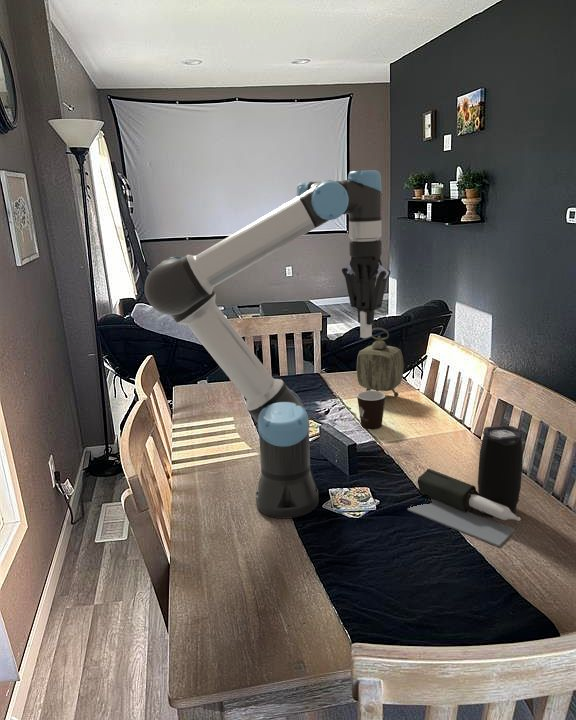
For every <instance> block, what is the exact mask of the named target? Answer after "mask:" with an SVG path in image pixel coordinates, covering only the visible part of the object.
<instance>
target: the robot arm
mask: <svg viewBox="0 0 576 720" xmlns="http://www.w3.org/2000/svg"><path fill="white" fill-rule="evenodd" d="M382 194H383V187H382V175H381V173H380V171H378V170H376V169H371V170H370V169H369V170H351V171H349V173H348V175H347V179H346V180H345V179H344V180H336V181H335V180H332V179H331V180H329V179H328V180H324V181H308V182H307V181H306V182H300V183H298V185H297V186H296V197H294V198H293V199H291V200H290V201H287V202H286V203H283V204H282V205H281V206H279V207H277V208H276V209H273V210H272V211H271V212H269V213H267V214H265V215H263V216H261V217H260V218H258V219H256V220H255V221H253V222H252V223H250V224H248V225H245V227H243V228H241V229H239V230H238V231H235V233H232V234H231V235H229V236H227V237H225V238H224V239H222V240H220V241H219V242H217V243H215V244H214V245H212V246H210V247H208V248H206V249H205V250H203V251H202V252H200V253H198V254H196V255H193V254H186V255H185V256H171V257H168V258H165V259H164V260H162V261H160V262H159V263H158V264H157V265H156V266H155V267H154V268H153V269H152V270H151V271H150V272H149V273H148V275H147V276H146V279H145V283H144V294H145V298H146V300H147V301H148V303H149V305H150V306H151V308H153V309H154V310H156V311H157V312H158V313H161V314H163V315H167V316H171V317H172V319H173V320H174V321H175V322H176V323H177V325H186V327H188V328H189V329H190V331H191V332H192V333H193V335H194V336H195V337H196V338H197V339H198V341H199V342H200V344H202V346H203V347H204V348H205V350H206V351H207V352H208V354H210V356H211V357H212V359H213V360H214V361H215V362H216V363H217V365H218V366H219V367H220V368H221V370H222V371H223V372H224V373H225V375H226V376H227V377H228V378H229V379H230V381H231V382H232V383H233V385H234V386H235V387H236V388H237V389H238V391H239V392H240V393H241V395H242V396H243V397H244V398H245V400H246V402H245V410H246V411H247V412H248V413H249V414H250V415H251V417H252V418H253V419H254V421H255V422H256V423H257V431H258V439H259V440H258V441H259V442H258V443H259V454H260V455H259V458H260V471H261V472H260V477H259V481H258V487H257V489H256V492H255V506H256V508H257V510H258V511H259V512H261V513H263V514H264V515H266V516H267V517H268V516H269V517H272V518H278V519H293V518H297V517H298V518H299V517H302V516H304V515H307V514H309V513H311V512H312V510H313V511H314V510H315V509H316V508H317V507H318V505H319V502H320V499H319V498H320V497H319V496H320V495H319V489H318V487H317V485H316V482H315V479H314V477H313V474H312V471H311V458H310V457H311V456H310V455H311V452H310V418H309V415H308V412H307V410H306V409H305V407H304V404H303V401H302V400H301V398H300V397H299V395H298V394H297V393H296V392H294V391H293V390H292V389H290V388H289V387H288V386H287V385H286V383H285V382H284V381H283V380H282V379H281V378H280V379H279V378H274V377H273V376H272V374H270V371H268V369H266V366H264V364H263V363H262V362H261V360H260V359H259V358H258V357H257V355H256V354H255V353H254V352H253V350H252V349H251V348H250V347H249V346H248V344H247V343H246V341H245V340H244V338H243V337H242V336H241V335H240V333H239V332H238V331H237V329H236V328H235V327H234V326H233V325H232V323H231V321H230V320H229V319H228V318H227V317H226V315H225V314H224V313H223V311H222V310H221V309H220V308H219V306H218V305H217V304H216V297H217V294H216V293H215V291H214V287H216V286H218V285H219V284H222V283H223V282H225V281H227V280H228V279H229V278H231V277H233V276H235V275H237V274H239V273H240V272H242V271H244V270H246V269H247V268H249V267H251V266H252V265H254V264H256V263H257V262H259V261H262V260H263V259H264V258H266V257H268V256H269V255H271V254H274V253H275V252H277V251H278V250H279V249H282V248H284V247H285V246H287V245H289V244H290V243H292V242H294V241H295V240H297V239H299V238H300V237H302V236H304V235H306V234H308V233H309V232H311V231H313V230H315V229H316V228H318V227H321V226H322V225H324V224H325V223H327V222H329V221H333V220H336V219H338V218H340V217H341V216H342V215H348V237H349V239H350V241H349V242H348V243H349V256H350V258H351V259H350V261H349V264H348V265H347V266H346V267H343V268H341V273H342V274H343V277H344V279H345V283H346V287H347V288H346V289H347V293H348V297H349V298H348V299H349V304H350V307H351V308H354V309H356V311H357V323H358V324H359V329H360V330H359V333H360V334H359V336H360V337H359V338H362V339H367V338H370V337H371V336H373V334H372V333H373V331H372V329H373V328H372V327H373V324H374V323H375V311H376V310H379V309H381V308H382V304H383V301H384V297H385V296H384V295H385V292H386V287H387V281H388V278H389V277H390V275H391V274H392V273H391V270H390V269H386V268H384V267H383V264H382V263H383V262H382V261H381V256H382V241H381V239H380V238H381V237H382V201H383V200H382V197H383V195H382ZM371 338H372V337H371Z"/></svg>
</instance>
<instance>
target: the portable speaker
mask: <svg viewBox="0 0 576 720" xmlns="http://www.w3.org/2000/svg"><path fill="white" fill-rule="evenodd" d="M482 435H483V437H482V440H481V445H480V450H479V457H478V458H479V459H478V473H477V492H478V494H479V496H481V497H483V498H486V499H488V500H491V501H493V502H496V503H498V504H501V505H503V506H506V507H508V508H509V509H510V511H511V512H512V513H513V514H515V515H516V511H517V510H516V509H517V506H518V503H519V498H520V492H521V487H522V486H521V485H522V474H523V461H524V460H523V458H524V457H523V441H522V438H523V437H522V435H521V430H519V429H518V428H517V427H515V426H512V425H507V424H503V425H497V426H485V427H484V428H483V431H482ZM481 513H482V514H483V515H484V516H487V517H489V518H492V519H493V518H496V517H495V516H492V515H490V514H487V513H485V512H483V511H481Z"/></svg>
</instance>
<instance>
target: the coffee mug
mask: <svg viewBox="0 0 576 720" xmlns="http://www.w3.org/2000/svg"><path fill="white" fill-rule="evenodd" d="M356 398H357V405H358V412H359V420H360V425H361V426H362V427H363V429H365V428H366V429H365V430H369V429H370V430H373V431H374V430H378V429H381V428H382V424H383V419H384V408H385V404H386V403H385V401H386V394H385V393H384V392H383V391H382V392H381V391H376V390H371V391H366V390H364V391H363V390H362V391H360V392H358V393H357V394H356ZM362 427H361V428H362Z"/></svg>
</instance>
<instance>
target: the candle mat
mask: <svg viewBox="0 0 576 720" xmlns="http://www.w3.org/2000/svg"><path fill="white" fill-rule="evenodd" d="M431 501H432V503H430V504H423V505H422V504H421V505H417V506H413V507H411V506H409V507H410V508H409V507H408V508H407V511H408V512H410V513H413V514H415V515H418V516H420V517H422V518H426V519H428V520H431V521H433V522H435V523H438V524H441V525H443V526H445V527H447V528H451V529H453V530H455V531H458V532H460V533H463V534H465V535H468V536H470V537H472V538H476V539H478V540H481V541H483V542H485V543H488V544H491V545H493V546H496V547H498V548H500V546H501V545H503V544H504V543H505V542H506V541H507V540H508V538H510V537H511V536H512V535H513V534H514V533H515V532H516V529H514V528H512V527H509V526H507V525H504V524H502V523H500V522H499V523H498V522H495V521H494V520H490V519H488V518H484V517H482V516H480V515H477V514H474V513H472V512H469V511H468V512H464V511H461V510H459V509H457V508H454V507H452V506H450V505H447V504H445V503H443V502H440V501H438V500H436V499H433V498H431Z"/></svg>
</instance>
